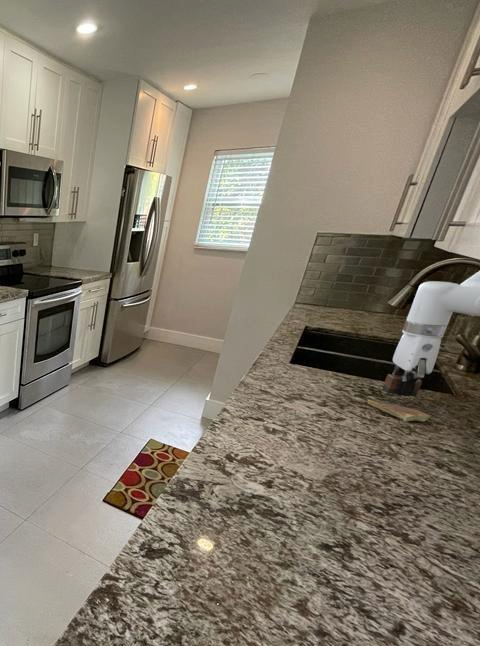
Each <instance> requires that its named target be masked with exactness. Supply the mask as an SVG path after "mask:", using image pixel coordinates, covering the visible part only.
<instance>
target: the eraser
mask: <svg viewBox="0 0 480 646" xmlns="http://www.w3.org/2000/svg"><path fill="white" fill-rule="evenodd" d="M402 378H403V376H400V375H393V374H390V373H387V374H386V377H385V379H384V383H383V386H382V390H383V391H385V392H386V393H387V394H395V391H396V389H397V386H398V384H399V381H402ZM422 383H423V381H422V379H419V380H418V382H417V383H416V385H415V387H414V390H413V392H412V395H411V396H410V397H417V395H418V393H419V391H420V388H421V386H422ZM395 395H396V394H395Z"/></svg>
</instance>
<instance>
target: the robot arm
mask: <svg viewBox="0 0 480 646" xmlns="http://www.w3.org/2000/svg"><path fill="white" fill-rule="evenodd" d="M453 313H457V314H462V315H468V316H474V317H480V270H478V272H475V273H474V274H473V275H471V276H470V277H468V278H466V280H464V281H463V282H461V283H460V284H459V283H455V282H454V283H453V282H449V281H437V280H436V281H434V280H432V281H425V282H424V281H423V283H421V284H420V285H419V286H418V289H417V291H416V294H415V297H414V298H413V302H412V304H411V308H410V310H409V312H408V315H407V316H406V321H405V322H404V325H403V327H402V331H401V332H402V333H403V334H402V335H401V338H400V339H399V342H398V344H397V346H396V349H395V351H394V353H393V356H392V362H393V364H394V369H393V371H392V375H400V376H403V378H402V381H399V384H398V386H397V389H396V391H395V395H397V396H403V397H404V396H405V397H412V396H411V395H412V392H413V390H414V387H415V385H416V383H417V382H418V380H422V379H424V378H425V375H430V374H431V373H433V370H434V367H435V364H436V362H437V358H438V355H439V352H440V348H441V343H442V338H443V337H444V335H445V332H446V330H447V327H448V325H449V323H450V320H451V317H452V316H453Z"/></svg>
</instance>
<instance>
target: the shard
mask: <svg viewBox="0 0 480 646" xmlns="http://www.w3.org/2000/svg"><path fill="white" fill-rule="evenodd" d="M366 400H367V405H370V406H372V407H374V408H377V409H379V410H381V411H383V412H385V413H388V414H389V415H391V416H394V417H396V418H398V419H401V420H402V421H403V422H412V421H417V422H426V421H428V419H430V418H431V415H430V414H427V413H425V412H422V411H420V410H418V409H415V408H410V407H408V406H404V405H401V404H395V403H390V402H384V401H380V400H375V399H372V398H371V399H370V398H366Z"/></svg>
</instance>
